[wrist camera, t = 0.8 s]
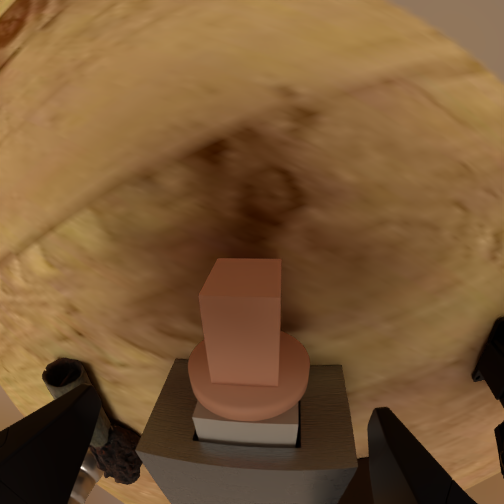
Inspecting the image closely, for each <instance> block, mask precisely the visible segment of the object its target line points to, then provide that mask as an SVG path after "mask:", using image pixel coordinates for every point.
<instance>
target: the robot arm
mask: <svg viewBox="0 0 504 504" xmlns="http://www.w3.org/2000/svg"><path fill="white" fill-rule="evenodd" d="M472 379H473V381H474V382H477V381H482V380H485V381H486V383H487V384H488V386H489V388H490V390H491V391H492V393H493V395H494V397H495V398H496V400H500V402H501V404H502V406H503V408H504V318H500V319H498V320H497V321H496V323H495V325H494V328H493V330H492V333H491V335H490V338H489V340H488V343H487V345H486V347H485V350H484V352H483V354H482V356H481V359H480V361H479V363H478V365H477V367H476V369H475V371H474V373H473V375H472ZM101 406H102V402H101V399H100V397H99V395H98V393H97V391H96V389H95V387H94V386H93V385H90V384H86V383H82V384H80V385H78V386H77V387H75V388H74V389H72V390H70V391H69V392H67V393H65V394H64V395H62V396H60V397H59V398H57V399H55V400H53V401H52V402H50V403H48V404H47V405H45V406H43V407H42V408H40V409H38V410H37V411H35V412H33V413H31V414H30V415H28V416H26V417H25V418H23V419H21V420H19V421H18V422H16V423H14V424H13V425H11V426H10V427H7V428H6V429H4V430H2V431H0V504H68V501H69V498H70V496H71V493H72V490H73V487H74V485H75V482H76V479H77V477H78V474H79V471H80V469H81V466H82V464H83V461H84V458H85V456H86V453H87V451H88V448H89V446H90V443H91V440H92V437H93V434H94V430H95V427H96V424H97V420H98V417H99V413H100V410H101ZM494 431H495V436H496V442H497V448H498V454H499V460H500V467H501V473H502V475H503V478H504V421H503V422H502V423H501V424H499V425H498V426H497V427H496V428H495V429H494ZM368 448H369V471H370V478H371V485H372V491H373V498H374V504H477V503H476V502H475V501H474V500H473V499H472V498H470V497H469V496H468V494H467V493H466V492H465V491H464V490H463V489H462V488H461V487H460V486H459V485H458V484H457V483H456V482H455V481H454V480H452V478H451V476H450V475H449V474H448V473H447V472H446V471H445V470H444V469H443V468H442V466H441V465H440V464H439V463H438V462H437V461H436V460H435V459H434V458H433V456H432V455H431V454H430V453H429V452H428V451H427V450H426V449H425V448H424V447H423V445H422V444H421V443H420V442H419V441H418V440H417V439H416V438H415V437H414V435H413V434H412V433H411V432H410V431H409V430H408V429H407V428H406V427H405V425H404V424H403V423H402V422H401V421H400V420H399V419H398V418H397V417H396V415H395V414H394V413H393V412H392V411H391V410H390V409H389V408H388V407H378V408H375V409H374V410H373V413H372V415H371V418H370V420H369V423H368Z"/></svg>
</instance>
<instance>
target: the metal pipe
mask: <svg viewBox="0 0 504 504" xmlns="http://www.w3.org/2000/svg"><path fill="white" fill-rule="evenodd" d="M42 379H43V381H44V382H45V384H46V386H47V388H48V390H49V391H50V393H51V394H52V396H53V398H54V399H57V398H59V397H60V396H62V395H64V394H65V393H67V392H69V391H70V390H72V389H74V388H75V387H77V386H78V385H80V384H82V383H86V384H90V385H91V382H90V380H89V378H88V376H87V373H86V371H85V369H84V367H83V365H82V364H81V363H80V362H79V361H78V360H74V359H68V358H61V359H58V360H55V361H54V362H52V363H50V364H48V365H47V367H46V371H45V370H44V372H43V374H42ZM139 440H140V437H139V436H138V435H137V434H136V433H134V432H132V431H130V430H128V429H126V428H122V427H120V426H118V425H116V424H115V425H114V424H113V423H110V421H109V419H108V418H107V416H106V414H105V412H104V410H103V408H102V406H101V410H100V413H99V417H98V420H97V424H96V427H95V430H94V434H93V437H92V440H91V443H90V446H89V449H90V452H91V453H92V454H93V456H94V458H95V462H96V464H97V468H98V469H100V470H102V471H105V472H104V477H105V478H108V477H109V476H111V477H113V478H115V482H116V483H122V484H127V485H128V484H132V483H134V482H135V481H137V479H138V478H139V477H140V467H141V465H142V463H143V462H142V461H141V459H140V457H139V456H138V454H137V453H136V451H135V450H136V447H137V445H138V443H139Z"/></svg>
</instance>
